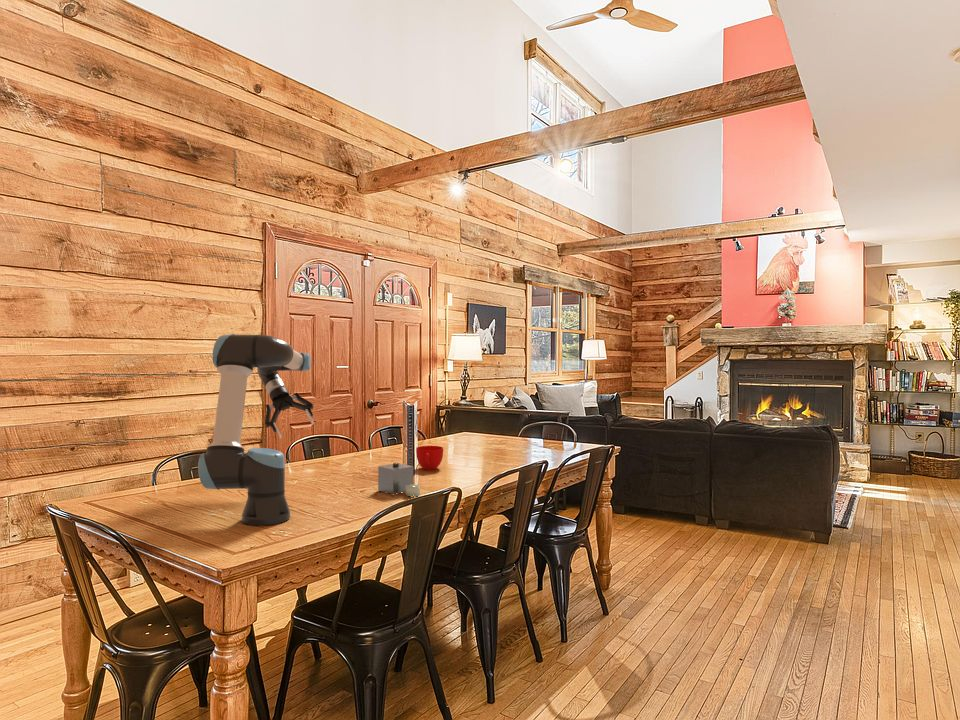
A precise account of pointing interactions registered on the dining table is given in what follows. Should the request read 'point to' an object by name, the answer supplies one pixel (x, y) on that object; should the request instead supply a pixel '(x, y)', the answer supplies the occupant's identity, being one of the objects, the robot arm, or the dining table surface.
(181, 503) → the dining table surface
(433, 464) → the ceramic cup
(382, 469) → the metal cover
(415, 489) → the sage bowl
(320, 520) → the dining table surface
